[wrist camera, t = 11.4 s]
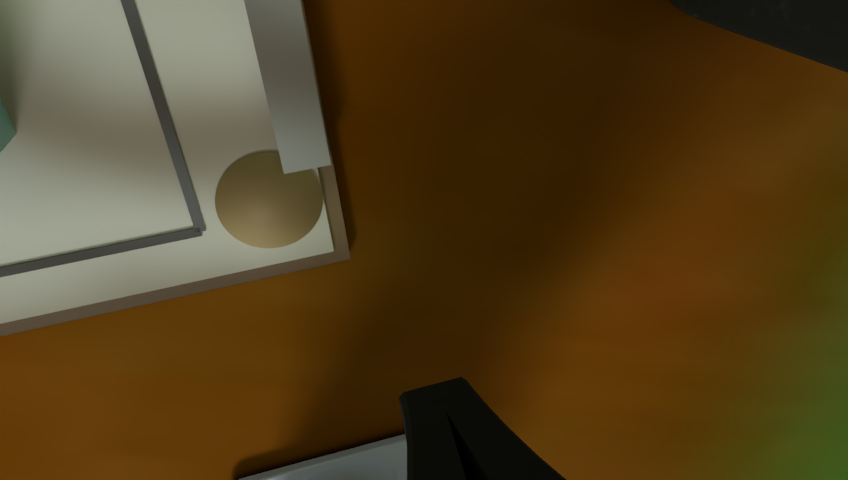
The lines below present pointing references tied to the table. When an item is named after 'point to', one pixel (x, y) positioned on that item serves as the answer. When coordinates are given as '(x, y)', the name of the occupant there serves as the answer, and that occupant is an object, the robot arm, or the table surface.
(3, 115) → the teal banded box
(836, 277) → the table surface
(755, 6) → the travel mug
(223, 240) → the clipboard with paper sheet
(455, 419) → the robot arm
